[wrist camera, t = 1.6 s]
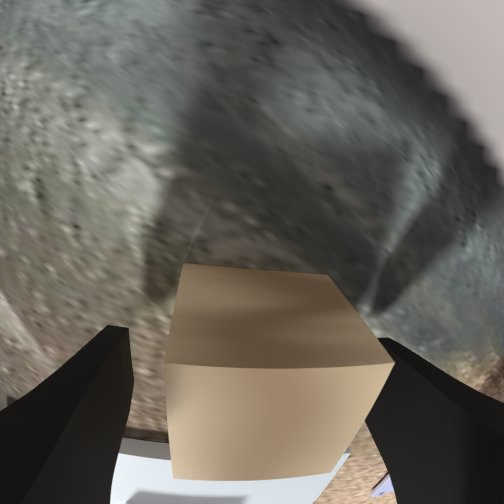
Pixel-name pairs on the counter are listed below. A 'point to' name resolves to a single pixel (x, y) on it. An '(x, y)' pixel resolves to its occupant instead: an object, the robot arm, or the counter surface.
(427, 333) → the counter surface
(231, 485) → the white flat panel
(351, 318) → the maple block
